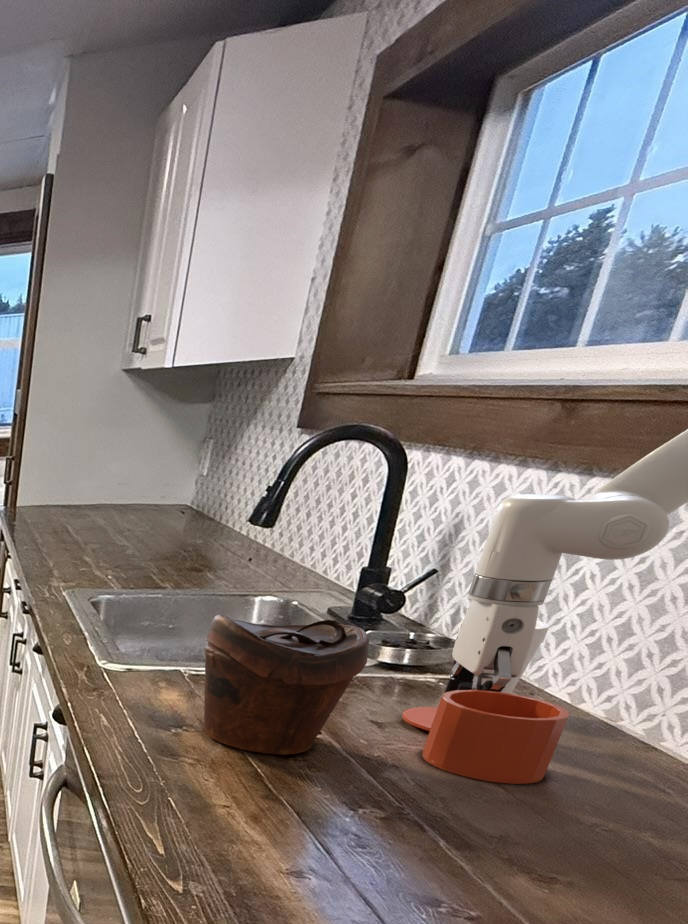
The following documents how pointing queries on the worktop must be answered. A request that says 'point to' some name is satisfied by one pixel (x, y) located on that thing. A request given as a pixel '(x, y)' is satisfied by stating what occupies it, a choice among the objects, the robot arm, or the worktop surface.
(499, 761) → the pot
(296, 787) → the worktop surface
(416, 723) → the pot lid
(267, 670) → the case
